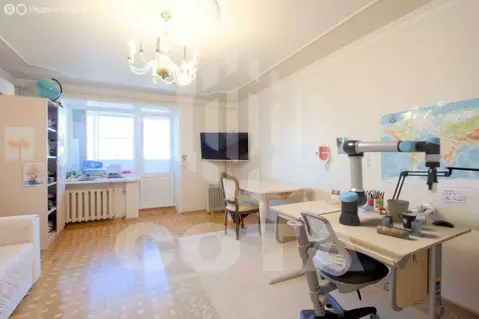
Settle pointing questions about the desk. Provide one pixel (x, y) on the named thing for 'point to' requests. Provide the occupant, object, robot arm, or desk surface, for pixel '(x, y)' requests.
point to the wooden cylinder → (393, 232)
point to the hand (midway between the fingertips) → (432, 193)
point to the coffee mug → (407, 219)
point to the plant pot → (397, 208)
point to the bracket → (414, 231)
